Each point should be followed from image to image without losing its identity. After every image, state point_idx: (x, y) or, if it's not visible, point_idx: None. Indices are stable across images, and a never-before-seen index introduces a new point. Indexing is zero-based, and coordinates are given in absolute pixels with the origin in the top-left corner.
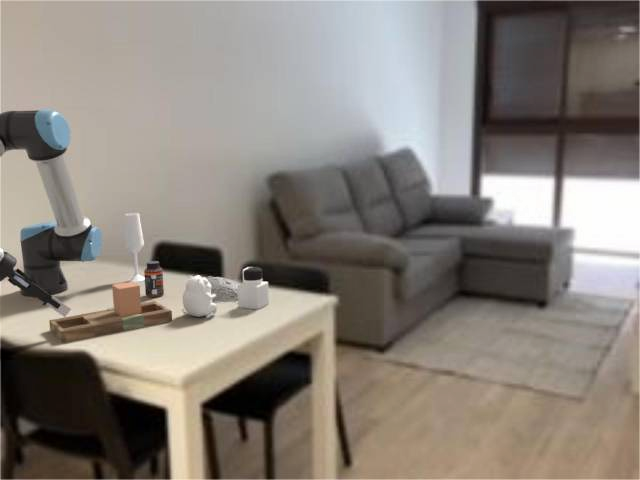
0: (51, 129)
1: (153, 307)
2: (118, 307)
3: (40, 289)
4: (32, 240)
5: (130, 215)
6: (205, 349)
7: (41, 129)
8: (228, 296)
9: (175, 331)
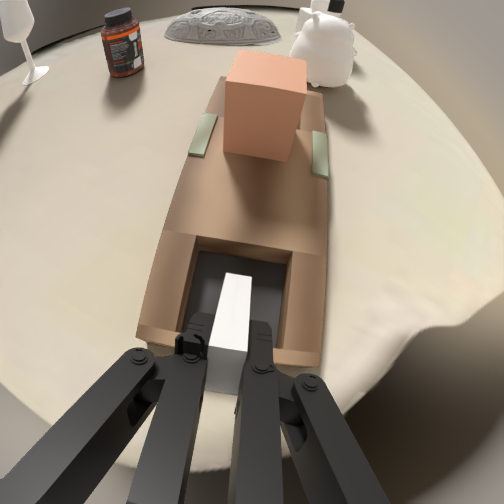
0: None
1: None
2: (271, 142)
3: (366, 466)
4: None
5: None
6: (476, 179)
7: None
8: (270, 32)
9: (385, 144)
